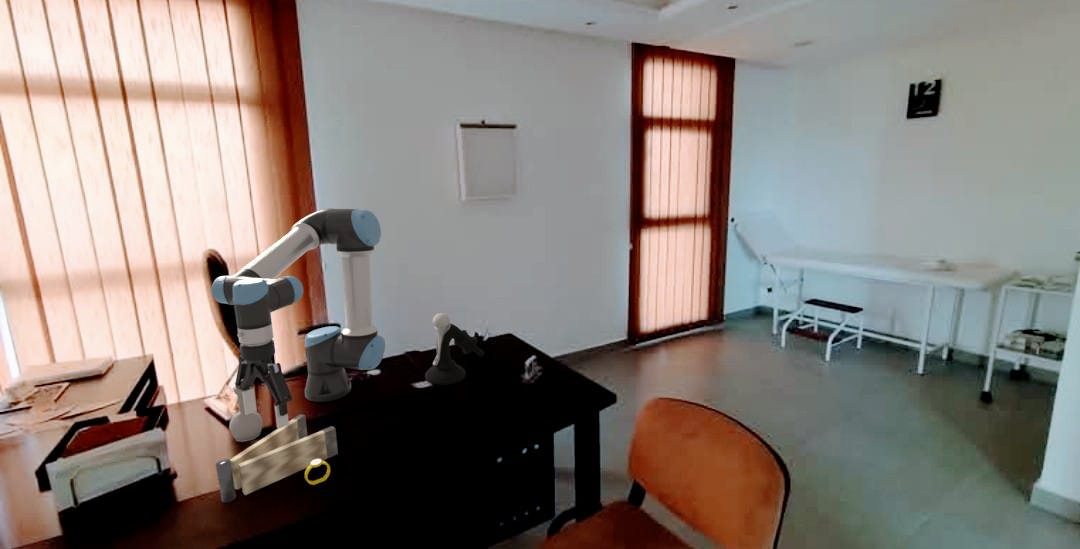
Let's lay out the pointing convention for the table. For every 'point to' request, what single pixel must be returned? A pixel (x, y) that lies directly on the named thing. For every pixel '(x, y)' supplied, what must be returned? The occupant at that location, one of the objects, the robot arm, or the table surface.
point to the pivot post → (225, 480)
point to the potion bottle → (245, 422)
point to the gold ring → (315, 464)
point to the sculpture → (444, 366)
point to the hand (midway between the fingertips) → (266, 419)
